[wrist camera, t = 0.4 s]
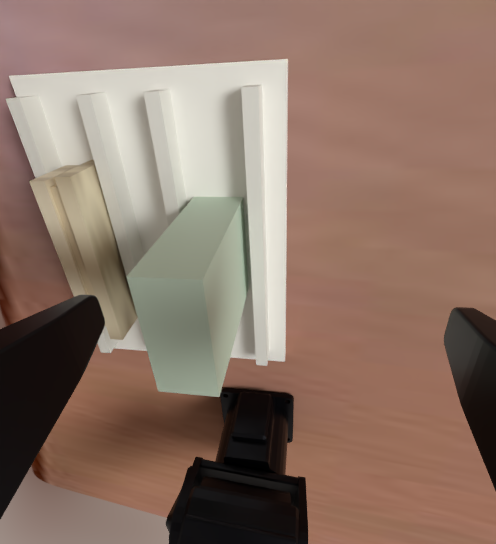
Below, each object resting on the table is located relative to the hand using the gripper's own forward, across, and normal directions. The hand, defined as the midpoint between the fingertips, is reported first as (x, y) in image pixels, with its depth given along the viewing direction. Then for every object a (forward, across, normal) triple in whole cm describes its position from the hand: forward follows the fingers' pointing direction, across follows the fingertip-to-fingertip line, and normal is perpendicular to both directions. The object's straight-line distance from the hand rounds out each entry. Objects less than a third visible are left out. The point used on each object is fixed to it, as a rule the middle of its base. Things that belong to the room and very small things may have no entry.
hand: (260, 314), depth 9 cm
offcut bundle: (+12, +12, +4) cm, 18 cm away
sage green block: (+12, +4, +4) cm, 14 cm away
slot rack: (+13, +8, +4) cm, 16 cm away
